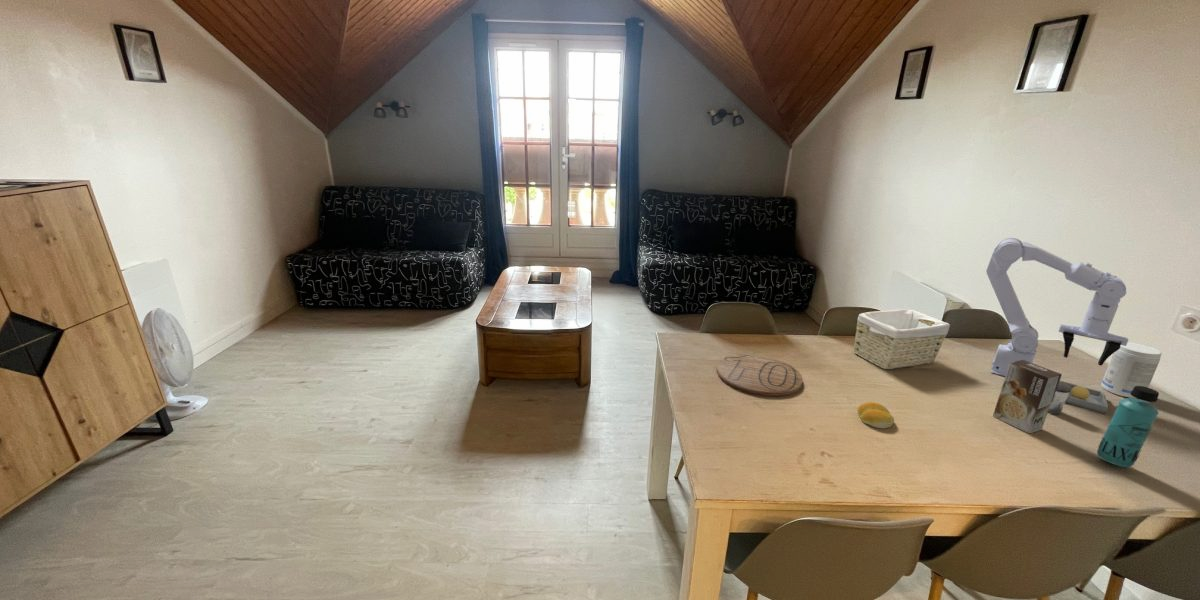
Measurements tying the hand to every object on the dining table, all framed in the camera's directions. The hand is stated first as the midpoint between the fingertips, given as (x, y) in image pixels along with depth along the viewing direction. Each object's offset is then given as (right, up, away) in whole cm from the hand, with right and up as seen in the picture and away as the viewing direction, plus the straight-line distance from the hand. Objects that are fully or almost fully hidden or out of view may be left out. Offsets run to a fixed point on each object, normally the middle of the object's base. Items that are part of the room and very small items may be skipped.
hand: (1082, 360), depth 149 cm
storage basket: (-45, -2, +20) cm, 49 cm away
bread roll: (-71, -14, -17) cm, 75 cm away
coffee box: (-33, -15, -16) cm, 39 cm away
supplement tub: (+15, -10, +3) cm, 19 cm away
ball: (-5, -9, -4) cm, 11 cm away
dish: (-4, -11, -2) cm, 12 cm away
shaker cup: (-18, -13, -9) cm, 24 cm away
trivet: (-95, -6, +4) cm, 96 cm away
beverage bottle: (-24, -21, -32) cm, 45 cm away
